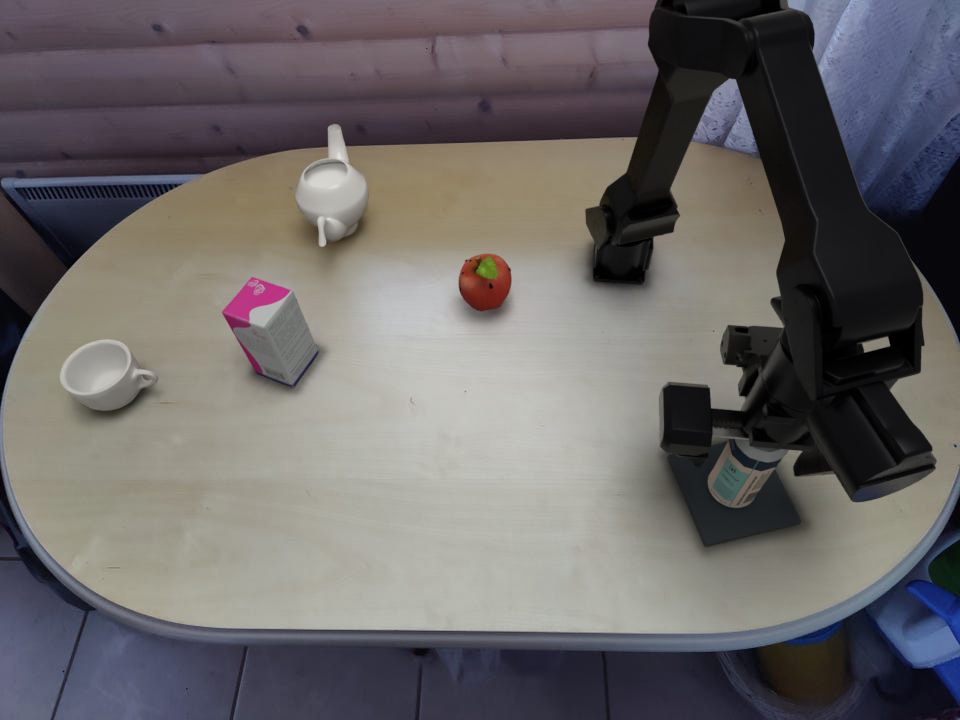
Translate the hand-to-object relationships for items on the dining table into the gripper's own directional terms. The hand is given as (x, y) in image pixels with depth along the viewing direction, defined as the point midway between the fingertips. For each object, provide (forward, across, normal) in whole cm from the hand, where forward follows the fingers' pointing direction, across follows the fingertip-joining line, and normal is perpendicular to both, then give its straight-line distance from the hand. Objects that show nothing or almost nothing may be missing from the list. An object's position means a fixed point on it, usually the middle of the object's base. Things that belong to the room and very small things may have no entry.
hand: (745, 467), depth 65 cm
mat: (+5, 0, 0) cm, 5 cm away
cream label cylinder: (+5, 0, 0) cm, 5 cm away
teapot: (+6, +50, -34) cm, 61 cm away
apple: (+6, +28, -22) cm, 36 cm away
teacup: (+6, +69, -5) cm, 69 cm away
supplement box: (+6, +51, -11) cm, 52 cm away
